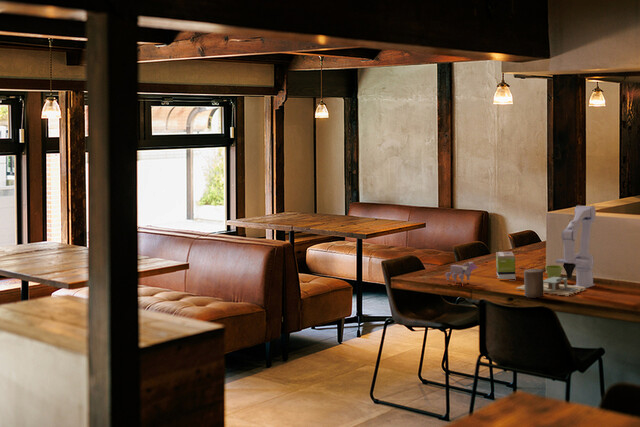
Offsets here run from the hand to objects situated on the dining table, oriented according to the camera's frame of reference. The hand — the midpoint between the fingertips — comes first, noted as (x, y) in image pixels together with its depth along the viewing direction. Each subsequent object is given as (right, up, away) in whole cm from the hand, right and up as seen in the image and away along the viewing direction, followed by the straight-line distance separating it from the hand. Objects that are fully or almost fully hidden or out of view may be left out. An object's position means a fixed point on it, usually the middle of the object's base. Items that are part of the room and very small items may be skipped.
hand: (569, 277), depth 420 cm
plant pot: (+1, -5, +32) cm, 32 cm away
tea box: (-22, -4, +48) cm, 53 cm away
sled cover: (-6, -6, +7) cm, 11 cm away
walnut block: (-6, -8, +7) cm, 12 cm away
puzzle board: (-7, -8, +11) cm, 15 cm away
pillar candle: (-19, -10, -2) cm, 22 cm away
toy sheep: (-50, -7, +34) cm, 61 cm away
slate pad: (0, -7, +2) cm, 7 cm away
